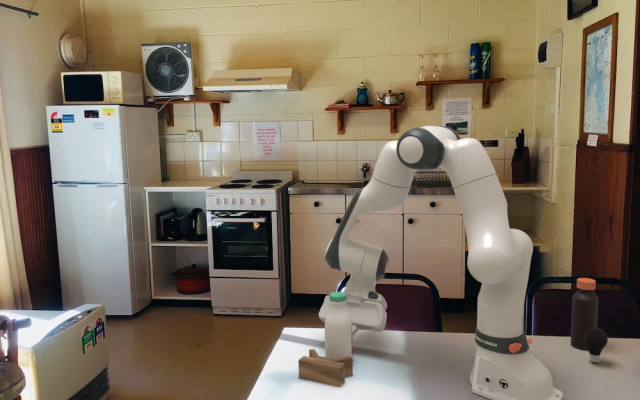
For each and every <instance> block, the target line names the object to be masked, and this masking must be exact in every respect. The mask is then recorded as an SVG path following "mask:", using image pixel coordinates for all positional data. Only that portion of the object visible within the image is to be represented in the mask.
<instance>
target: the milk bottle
mask: <svg viewBox="0 0 640 400" xmlns="http://www.w3.org/2000/svg"><path fill="white" fill-rule="evenodd" d="M329 294H330V295H329ZM329 294H328V295H329V298H330V308H329V311H328V313H327V316H326V319H325V323H324V354H325V355H324V357H327V358H332V359H335V358H340V357H345V356H351V357H352V361H353V358H354V357H353V356H354V355H353V351H354V350H353V348H354V347H353V336H352V322H351V317H350V315H349V313H348V311H347V308H346V305H345V302H346V294H345V293H344V291H343V292H342V291H334V292H330V293H329Z"/></svg>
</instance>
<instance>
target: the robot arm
mask: <svg viewBox="0 0 640 400" xmlns="http://www.w3.org/2000/svg"><path fill="white" fill-rule="evenodd" d="M438 168H440V169H442V170H443V171H445V173H446V174H447V175H448V178H449V180H450V183H451V187H452V188H453V192H454V195H455V197H456V200H457V203H458V207H459V209H460V212H461V215H462V219H463V222H464V227H465V235H466V243H467V248H468V251H467V252H468V253H467V254H468V255H467V260H466V261H467V269H468V271H469V273H470V275H471V276H472V277H473V278H474V279H475V280H476V281H477V282H479V283H481V286H480V290H479V293H478V295H477V311H476V312H477V315H476V316H477V318H476V319H477V320H476V322H477V323H476V326H475V327H474V328H475V331H474V342H475V343H476V345H475V355H474V360H473V366H472V370H471V372H470V376H469V382H470V384H471V390H470V391H471V392H472V393H474V394H476V395H478V396H481V397H484V398H486V399H489V400H563V399H564V395H563V394H564V393H563V392H562V391H561V390H559V389H558V388H556V387H554V384H553V383H554V382H553V376H552V373H551V371H550V369H549V368H548V367H547V366H546V365H545V364H544V363H543V362H542V361H541V360H540V358H539V357H537V355H536V354H535V353H534V351H532V350H531V349H530V345H529V344H532V343H533V339H534V338H533V337H531V338H529V339H527V338H528V337H527V334H526V332H525V330H524V316H525V299H526V292H527V287H528V282H529V274H530V268H531V263H532V262H531V260H532V256H533V251H534V244H533V241H532V239H531V237H530V236H529V235H528V234H527V233H526V232H524V231H523V230H520V229H517V228H510V223H509V217H508V216H509V215H508V201H507V199H506V198H507V197H506V196H505V194H504V191H503V188H502V186H501V183H500V179H499V178H498V174H497V172H496V169H495V167H494V165H493V162H492V160H491V158H490V156H489V154H488V153H487V151H486V149H485V148H484V145H482V143H481V142H480V140H478V139H475V138H472V137H466V138H461V136H460V135H459V132H457V131H456V130H454V129H453V128H451V127H449V126H444V125H440V126H435V125H425V126H424V125H423V126H420V127H419V126H418V127H412V128H410V129H409V130H406V131H404V132H403V133H402V135H400V136H399V138H398V140H396V139H395V140H391V141H388V142H387V143H386V144H384V146H383V148H382V150H381V151H380V154H379V155H378V158H377V160H376V163H375V165H374V169H373V172H372V175H371V178H370V180H369V182H368V183H367V184H366V186H364V187H362V188H358V189H357V191H355V192H354V195H353V196H352V198H351V201H350V202H349V204H348V206H347V208H346V210H345V212H344V214H343V216H342V218H341V221H340V223H339V225H338V227H337V229H336V232H335V234H334V235H333V237H332V238H331V240H330V241H329V243H328V244H327V246H326V249H325V252H324V261H325V262H326V263H327V265H328V266H329V268H330V269H332V270H337V271H340V272H341V271H343V272H346V273H349V274H350V277H349V279H348V281H347V282H346V285H345V289H344V291H343V292H344V293H345V294H346V302H345V305H346V308H347V311H348V313H349V315H350V317H351V322H352V337H354V336H355V335H356V334H357V333H358V332H359V329H360V330H366V331H367V330H368V331H371V332H378V333H381V332H383V331H384V330H385V328H386V324H387V318H388V314H387V312H386V310H387V308H388V303H387V301H386V299H385V297H384V296H383V294H380V293H378V292H376V285H377V283H378V282H380V281H381V280H383V279H384V278H385V274H386V268H387V266H388V264H389V259H390V258H389V255H388V254H387V252H386V251H385V249H383V248H382V247H378V246H376V245H373V244H370V243H364V242H362V241H359V240H355V239H353V238H351V237H350V234H351V232H352V230H353V227H354V226H355V224H356V222H357V219H358V218H359V217H360V216H361V215H364V214H368V213H374V212H388V211H392V210H394V209H397V208H398V207H401V206H402V205H403V204H404V203H405V202H406V199H407V198H408V196H409V193H410V191H411V190H410V189H411V187H412V182H413V181H414V180H413V179H414V176H415V173H416V172H417V171H424V170H436V169H438ZM329 295H330V293H329V294H326V296H325V297H324V301H323V304H322V306H321V307H320V310H319V312H318V318H319V319H320V321H321V322H322V323H324V324H325V319H326V316H327V313H328V311H329V308H330V298H329Z"/></svg>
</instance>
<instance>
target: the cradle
mask: <svg viewBox="0 0 640 400" xmlns="http://www.w3.org/2000/svg"><path fill="white" fill-rule="evenodd" d="M308 354H309V355H308V356H306V355H303V356H301V357H300V358H299V359H298V378H299V379H301V380H305V381H311V382H316V383H321V384H326V385H330V386H334V387H342V385H344V384H345V382H346V378H347V377H352V376H353V375H354V372H353V371H354V370H353V361H352V357H351V356H345V357H340V358H335V359H332V358H327V357H325V356H321V355H319V354H318V352H317V350H316V349H315V348H313V349H308Z"/></svg>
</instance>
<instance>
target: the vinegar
mask: <svg viewBox="0 0 640 400" xmlns="http://www.w3.org/2000/svg"><path fill="white" fill-rule="evenodd" d="M596 281H597V280H595V279H594V278H588V277H579V278H577V279H576V289H577V291H576V292H575V293H573V295H572V302H571V303H572V304H571V305H572V306H571V322H570V324H571V326H570V345H571V346H572V347H573V348H575V349H578V350H581V351H589V350H588V346H587V345H586V343H585V341H584V333H585V331H586V330H587V329H589V328H592V327H597V328H598V320H599V319H598V318H599V317H598V316H599V296H597V294H596V293H595V291H596V285H597V284H596V283H597V282H596Z"/></svg>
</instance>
